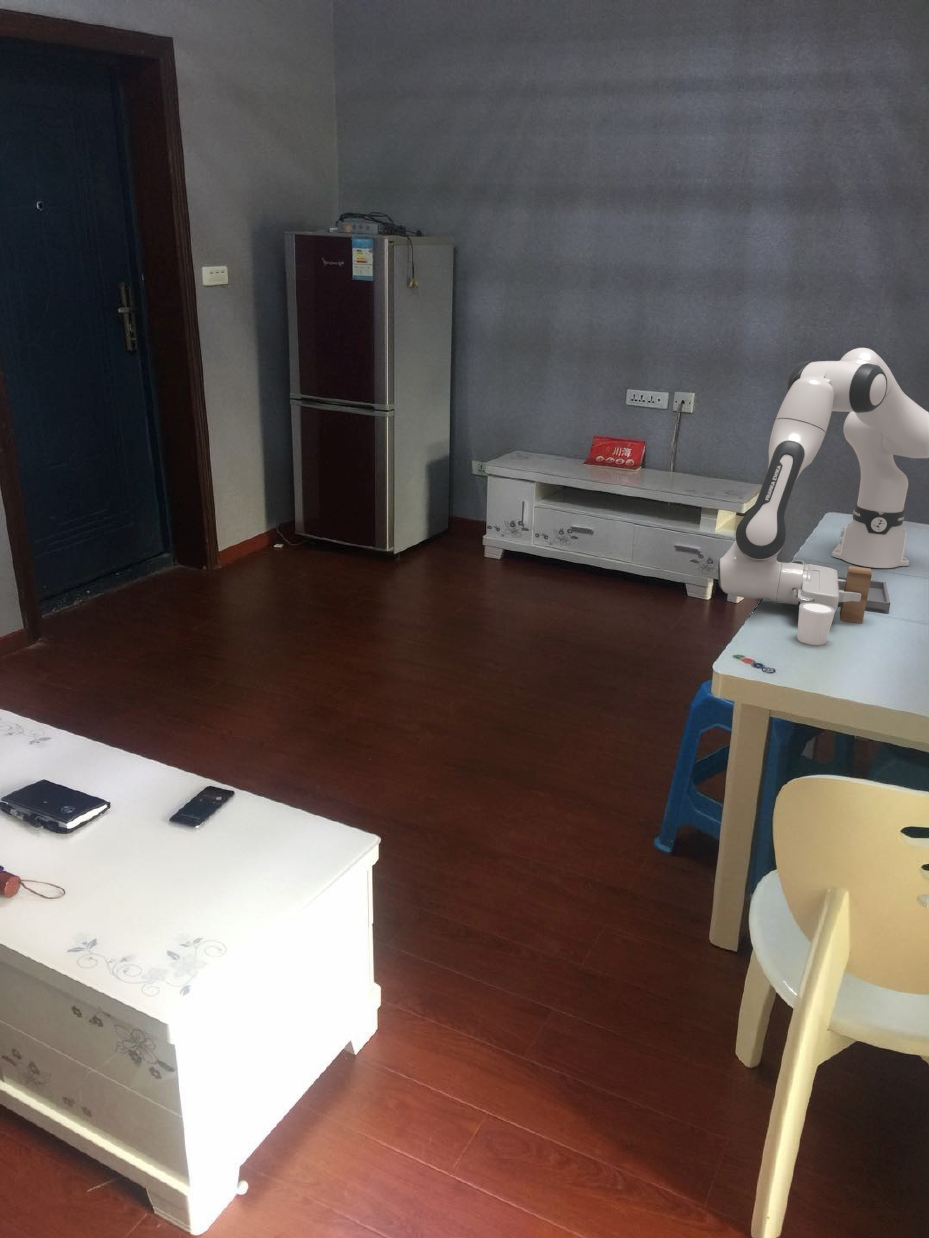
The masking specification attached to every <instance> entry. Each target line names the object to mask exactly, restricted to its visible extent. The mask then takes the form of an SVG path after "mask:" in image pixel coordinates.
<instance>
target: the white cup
mask: <svg viewBox="0 0 929 1238" xmlns="http://www.w3.org/2000/svg"><path fill="white" fill-rule="evenodd" d="M798 608H799V609H798V619H797V620H798V622H797V634H796V635H797V637H796V639H797V638H798V639H797V640H798V641H799V642H801V643H803V644H806V645H810V646H823V645H825V644H826V643H827V641H828V637H829V634H830V630H831V626H832V623H833V621H834V616H835V613H836V610H834V608H832V607H830V606H827V605H824V604H819V603H803V604H799V606H798Z"/></svg>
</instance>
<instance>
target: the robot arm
mask: <svg viewBox="0 0 929 1238" xmlns="http://www.w3.org/2000/svg"><path fill="white" fill-rule="evenodd" d="M833 412H839V413H840V412H841V413H842V412H843V413H848V414H847V416H846V418H845V420H844V422H843V435H844V438H845V440H846V441H847V443H848V444H849V445H850V446H851V447H852V449H853V450H854V452H855V454H856V457H857V461H858V462H859V463H858V464H859V468H860V481H859V491H858V495H857V503H856V504H855V505H854V508H853V511H852V512H853V513H852V521H850V523H848V524H847V525H846V526H845V527H843V528H841V531H840V537H841V538H842V539H840V542H839V543H837V546H836V547H835V548H834V549H833V551H832V552H831V553H830V554H831V557H833V558H837V559H840V560H843V561H845V562H847V563H849V564H852V565H853V564H854V565H857V566H861V567H865V568H875V569H894V568H897V567H905V566H910V561H909V559H908V558H906V557H905V556H904V551H905V546H906V540H907V532H906V531H905V529H904V528H903V527H902V525H903V523H904V519H905V510H904V508H905V503H906V498H907V493H908V489H909V479H908V477H907V475H906V474H905V473H904V472H903V471H902V470H901V469H900V468H899V467H898V466H897V463H896V462H895V459H894V455H895V456H899V457H904V458H905V457H906V458H909V459H910V458H911V459H929V411H927V410H926V409H924V408H923V407H921V405H919V404H918V403H916V401H914V400H913V399H911V398H910V397H909V396H908V395H907V394H905V392H904V391H903V389H902V388H901V387H900V385H899V384H898V381H897V380H896V378H895V376H894V374H893V373H892V370H891V369H890V367H888V364H886V362H885V361H884V360H883V358H881V356H880V355H879V354H878V353H876V352H875V351H874V350H872V349H871V348H868V347H867V348H866V347H858V348H854V349H852V350H849V351H848V352H847V353H845V354H844V355H843V356H842V357H841V358H840V360H825V361H824V360H823V361H817V360H806V361H802V362H799V363H798V364H797V365H795V366H794V368H792V370H791V371H790V373H789V375H788V377H787V381H786V395H785V397H784V398H783V401H782V403H781V405H780V407H779V410H778V411H777V415H776V417H775V420H774V423H773V426H772V430H771V432H770V433H771V434H770V438H769V445H768V465H767V470H766V471H767V472H766V474H765V477H764V479H763V482H762V485H761V488H760V489H759V493H758V496H757V498H756V501H755V503H754V505H753V506H752V508H751V509H750V510H749V511H748V512H747V513H746V515H744V516H743V517H742V519H741V520H740V521H739V523H738V525H737V528H736V530H735V540H734V542H733V543H732V545H731V546H730V548H728V550H727V552H725V554H724V555H723V556H722V557H721V558H719V560H718V562H717V579H718V585H719V588H720V589H721V591H722V592H724V593H725V594H728V595H730V596H734V597H739V598H743V599H752V600H760V599H764V600H768V601H771V602H773V603H778V604H779V603H781V604H788V605H794V606H797V605H800V604H803V603H819V604H824V605H827V606H830V607H832V608H834V610H835V611H837V610H838V607H837V606H838V601H839V602H848V601H855V602H859V601H860V600H861V593H860V592H856V591H852V592H844V591H842V590H844V587H845V582H846V580H842V579H838V576H839V575H838V572H839V571H838V570H837V569H835V568H832V567H827V566H823V565H818V564H812V563H811V564H810V563H805V562H804V561H803V560H798V559H797V560H793V561H792V562H784V561H783V562H781V561H779V560H777V559H778V555H779V553H780V552H781V550H782V548H783V546H784V544H785V540H786V535H787V534H786V532H787V531H786V523H785V515H786V510H787V507H788V504H789V502H790V500H791V499H790V498H791V495H792V493H793V490H794V487H795V484H796V483H797V479H798V478H799V477H800V474H801V473H802V471H804V469H806V467H808V466H809V465H810V464H812V462H813V461H814V459H815V458H816V455H817V454H818V453H819V450H820V448H821V446H822V444H823V441H824V439H825V436H826V433H827V430H828V429H829V428H828V427H829V424H830V421H831V417H832V413H833ZM799 603H800V604H799Z"/></svg>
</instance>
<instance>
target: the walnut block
mask: <svg viewBox="0 0 929 1238" xmlns="http://www.w3.org/2000/svg"><path fill="white" fill-rule="evenodd" d="M872 575H873V573H872V569H871V568H870V567H862V566H861V567H859V566H852V565H851V566H850V565H848V567H847V571H846V576H845V577H846V582H845V587H844V592H852V591H856V592H860V593H861V600H860V601H859V602H855V601H848V602H842V603H841V607H840V609H839V621H842V622H849V623H856V624H863V622H864V616H865V611H866V610H865V607H866V602H867V597H868V592H869V587H870V582H871V579H872Z"/></svg>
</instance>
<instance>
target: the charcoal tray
mask: <svg viewBox="0 0 929 1238" xmlns="http://www.w3.org/2000/svg"><path fill="white" fill-rule="evenodd" d="M846 577H847V576H841V575H838V579H842V580H846ZM842 591H844V590H842ZM889 595H890V594H889V591H888V587H887V582H886V581H878V580H871V582H870V587H869V592H868V597H867V602H866V607H865V611H867V612H874V613H879V614H880V613H881V614H889V613H890V612H889V611H890V608H891V599H890V596H889ZM841 603H842V602H839V601H838V606H837V608H841Z"/></svg>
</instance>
